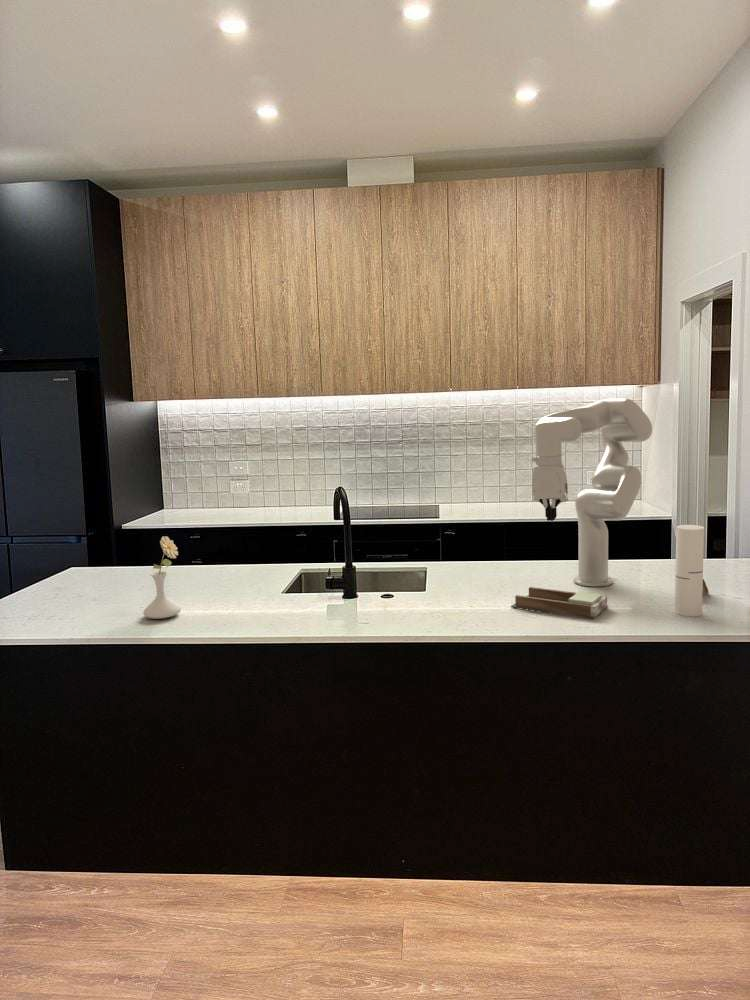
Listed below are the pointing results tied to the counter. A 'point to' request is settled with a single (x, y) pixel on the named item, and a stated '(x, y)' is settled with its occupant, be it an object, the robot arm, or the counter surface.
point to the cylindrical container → (689, 570)
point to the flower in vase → (161, 603)
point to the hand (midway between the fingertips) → (551, 519)
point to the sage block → (584, 598)
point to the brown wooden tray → (559, 603)
